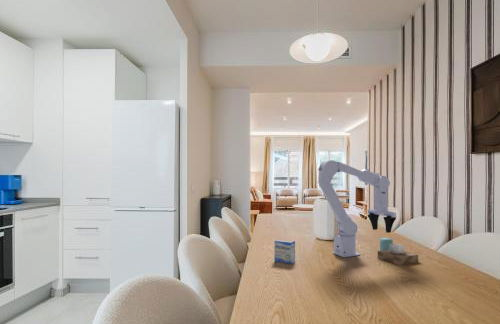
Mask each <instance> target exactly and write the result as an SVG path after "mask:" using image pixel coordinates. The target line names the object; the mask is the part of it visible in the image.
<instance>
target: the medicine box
mask: <svg viewBox="0 0 500 324" xmlns="http://www.w3.org/2000/svg"><path fill="white" fill-rule="evenodd" d="M273 247H274V248H273V249H274V257H273V258H274V259H273V261H274V262H276V263H282V264H291V265H292V264H294V263H295V262H296V241H295V240H289V239H288V240H286V239H276V240H274V246H273Z"/></svg>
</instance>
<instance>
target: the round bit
mask: <svg viewBox="0 0 500 324" xmlns="http://www.w3.org/2000/svg"><path fill="white" fill-rule="evenodd" d="M393 241H394V239H393V238H390V237H379V251H383V250H390V246H389V245H391V244H394V242H393Z"/></svg>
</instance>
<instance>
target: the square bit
mask: <svg viewBox="0 0 500 324" xmlns="http://www.w3.org/2000/svg"><path fill="white" fill-rule="evenodd" d="M389 246H390V253H393V254H396V255H402V254H404V251H405V245H403V244H399V243H393V244H391V245H389Z"/></svg>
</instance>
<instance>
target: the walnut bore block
mask: <svg viewBox="0 0 500 324" xmlns="http://www.w3.org/2000/svg"><path fill="white" fill-rule="evenodd" d="M377 259H379V260H382V261H386V262H388V263H392V264H394V265H398V266H403V265H409V264H414V263H419V254H416V253H413V252H410V251H406V250H404V254H402V255H396V254H393V253H390V250H383V251H380V250H378V251H377Z"/></svg>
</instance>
